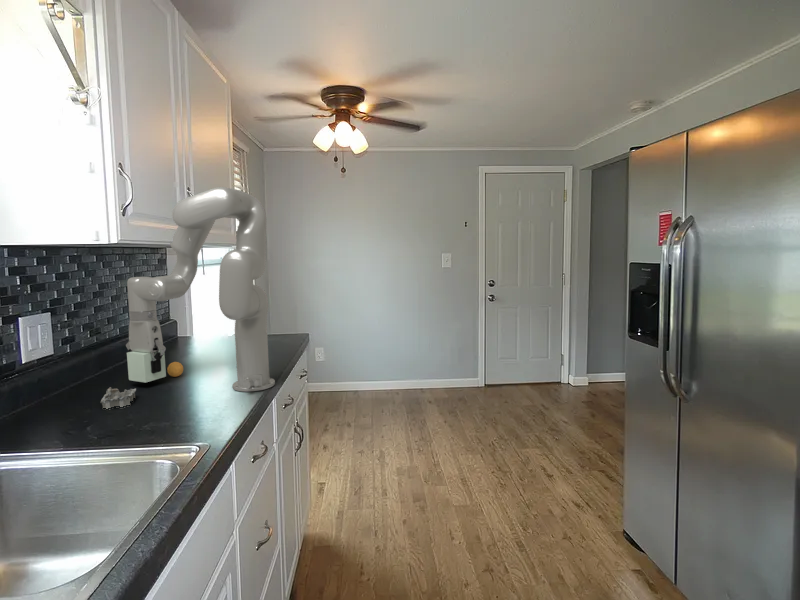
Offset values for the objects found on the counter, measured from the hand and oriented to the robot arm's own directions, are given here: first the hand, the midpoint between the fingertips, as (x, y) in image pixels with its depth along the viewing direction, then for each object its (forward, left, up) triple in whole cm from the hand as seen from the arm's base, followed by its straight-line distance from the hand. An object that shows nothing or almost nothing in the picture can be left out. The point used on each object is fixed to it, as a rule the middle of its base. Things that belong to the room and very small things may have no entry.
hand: (147, 370), depth 156 cm
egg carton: (-18, +3, -5) cm, 19 cm away
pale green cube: (0, 0, -2) cm, 2 cm away
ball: (+8, -7, -2) cm, 11 cm away
